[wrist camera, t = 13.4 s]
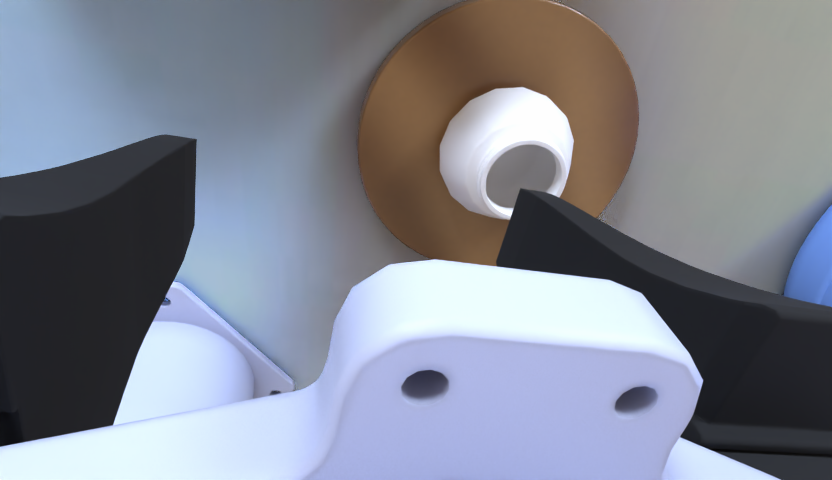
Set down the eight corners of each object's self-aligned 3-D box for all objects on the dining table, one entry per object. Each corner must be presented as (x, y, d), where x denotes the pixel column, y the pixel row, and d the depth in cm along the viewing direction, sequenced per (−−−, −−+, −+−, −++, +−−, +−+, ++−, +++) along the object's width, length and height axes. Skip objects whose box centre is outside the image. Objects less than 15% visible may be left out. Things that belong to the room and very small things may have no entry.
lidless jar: (410, 155, 21) (497, 229, 23) (420, 189, 19) (516, 268, 21) (507, 55, 20) (590, 143, 22) (533, 77, 17) (623, 174, 19)
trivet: (451, 300, 26) (454, 311, 25) (297, 111, 21) (295, 118, 20) (668, 170, 24) (678, 178, 23) (559, -78, 19) (567, -77, 18)
